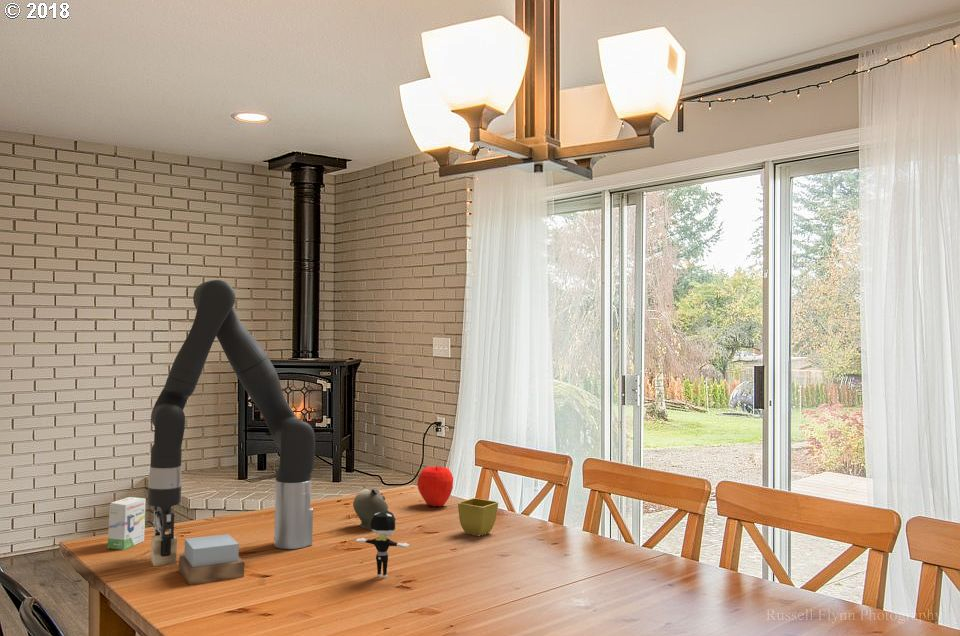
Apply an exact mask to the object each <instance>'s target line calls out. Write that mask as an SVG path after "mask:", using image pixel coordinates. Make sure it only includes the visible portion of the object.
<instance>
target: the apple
mask: <svg viewBox="0 0 960 636" xmlns="http://www.w3.org/2000/svg"><path fill="white" fill-rule="evenodd" d="M416 486H417V489H418V492H419V495H421V498H422V499H423V500H424V502H425V504H427V505H428V506H431V507H436V506H439V507H443V506H445V504H446V503H447V501H448V500H449V498H450V496H451V495H452V491H453V488H454V476H453V473H452V471H451V470H450V469H449V468H447V467H444V466H438V465H436V466H426V467H424V468H423V469H422V470H421V471H420V473H419V475H418V477H417V485H416Z"/></svg>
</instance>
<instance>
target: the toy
mask: <svg viewBox="0 0 960 636" xmlns="http://www.w3.org/2000/svg"><path fill="white" fill-rule="evenodd" d="M371 529H372V530H371V531H372V532H373V533H375V534H377V535H378V537H376V538H372V539H370V538H369V539H366V538H365V537H362V538H357V539H356V540H355V541H356V542H357V543H361V544H362V543H365V544H369V545H373V546H374V547H375V549H376V550H377V552H376V555H375V560H376V571H377V573H376V574H377V577H376V578H381V577H382V578H383V579H386V578H387V577H388V573H387V572H388V564H389V563H388V562H389V552H388V550H389V548H390V547H399V548H407V547H409V546H410V544H409V543H408V542H396V541H393V540H391V539H390V538H388V537H392V535H393V534H394V532H395V530H396V517H395V515H394V513H393V512H392V511H389V510H388V511H383V512H379V513H376V514H375V515H374V516H373V518H372V520H371Z"/></svg>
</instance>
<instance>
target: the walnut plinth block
mask: <svg viewBox="0 0 960 636" xmlns="http://www.w3.org/2000/svg"><path fill="white" fill-rule="evenodd" d="M178 560H179V563H178V564H179V565H178V571H179V573H180V574H181V575H182V577H183V578H184V580H185V581H186V582H187V584H188V585H189V586H191V585H192V586H193V585H198V584H204V583H212V582H219V581H225V580H232V579H239V578H244V577H245V561H244V560H243V559H242V558H241V557H240V556H239V555H238V561H237V562H229V563H222V564H214V565H206V566H199V567H192V565H191V564H190V563H189V561H188V560H187V559H186V557H185V556H184V554H180V555H179V559H178Z"/></svg>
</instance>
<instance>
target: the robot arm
mask: <svg viewBox="0 0 960 636" xmlns="http://www.w3.org/2000/svg"><path fill="white" fill-rule="evenodd" d="M235 292H236V291H235V290H234V288H233V287H232V286H231V284H229V283H228V282H227V281H225V280H222V279H213V280H208V281H204V282H202V283H200V284H199V285H198V286H197V287H196V289H195V290H194V292H193V298H192V299H193V305H194V307H195V309H196V313H195V318H194V320H193V323H192V325H191V328H190V329H189V332H188V334H187V337H186V339H185V340H184V341H183V343H182V346H181V347H180V349H179V351H178V353H177V355H176V356H175V359H174V361H173V363H172V365H171V368H170V369H169V373H168V374H167V375H168V376H167V378H166V380H165V384H164V387H163V389H162V390H161V392H160V394H159V395H158V398H157V399H156V401H155V403H154V405H153V408H152V410H151V414H150V420H151V423H152V425H153V427H154V434H153V435H154V436H153V439H154V440H153V444H152V446H151V451H150V468H149V474H148V484H147V485H148V486H147V487H148V489H147V505H148V506H150V507H153V523H152V527H153V532H155V533H154V536H158V535H160V539H161V548H160V555H161V556H162V557H164V556H169V555H170V554H171V540H172V539H173V538H174V535H175V532H174V531H175V513H174V512H173V510H172V507H173V506H178V505H180V503H181V502H182V484H183V483H182V482H183V481H182V479H183V472H182V471H183V470H182V446H183V441H184V440H183V439H184V434H185V429H186V415H185V412H184V409H185V406H186V404H187V402H188V400H189V398H190V397H191V396H192V395H193V393H194V392H195V389H196V387H197V385H198V382H199V380H200V377H201V375H202V372H203V369H204V366H205V364H206V362H207V358H208V356H209V353H210V351H211V348H212V346H213V343H214V341H215V339H216V338H217V340H218V342H219V345H220V346H221V349H222V350H223V353H224V354H225V356H226V358H227V360H228V362H229V364H230V366H231V368H232V370H233V372H234V373H235V375H236V377H237V378H238V380H239V382H240V383H241V385H242V387H243V388H244V390H245V391H246V393H247V394H248V396H249V398H250V399H251V401H252V402H253V403H254V405H255V407H257V409H258V410H259V412H260V414H261V415H262V417H263V419H264V421H265V424H266V426H267V428H268V430H269V433H270V435H271V437H272V440H273V442H274V444H275V445H276V446H277V448H278V449H279V450H280V452H279V453H280V456H279V465H278V467H277V469H276V471H275V488H274V489H275V495H274V498H275V499H274V500H275V501H274V502H275V503H274V532H273V533H274V536H273V544H274V545H273V546H274V547H275V548H278V549H283V550H296V549H302V548H306V547H308V546H313V532H314V531H313V530H314V529H313V528H314V509H313V507H311V502H312V499H311V497H312V472H313V470H314V467H315V456H316V455H315V452H316V451H315V450H316V435H315V431H314V428H313V427H312V426H311V424H310V423H308V422H306V421H303V420H300V418H298V416H297V415H296V414H295V412H294V411H293V409H292V408H291V406H290V405H289V404H288V402H287V401H288V400H287V399H286V398H285V395H284V392H283V389H282V385H281V381H280V378H279V375H278V372H277V371H276V368H275V366H274V365H273V363H272V361H271V360H270V358H269V356H268V354H267V353H266V351H265V349H264V348H263V346H262V345H261V344H260V342H258V341H257V339H256V338H255V337H254V336H253V335H252V334H251V333H250V331H248V330H247V329H246V327H245V326H244V325H243V323H242V320H240V318H239V316H238V314H237V312H236V310H235V308H234V305H235V303H236V293H235ZM167 532H168V533H167Z"/></svg>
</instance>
